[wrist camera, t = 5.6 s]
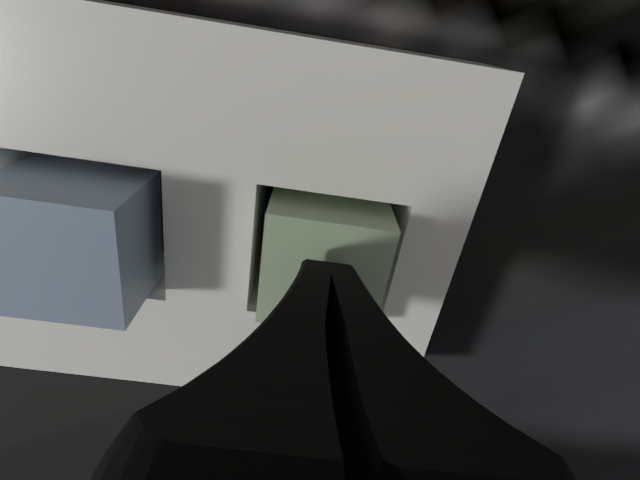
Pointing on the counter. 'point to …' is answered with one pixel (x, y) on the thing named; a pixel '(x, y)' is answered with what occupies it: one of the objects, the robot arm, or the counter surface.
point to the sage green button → (324, 241)
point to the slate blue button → (78, 240)
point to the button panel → (241, 161)
